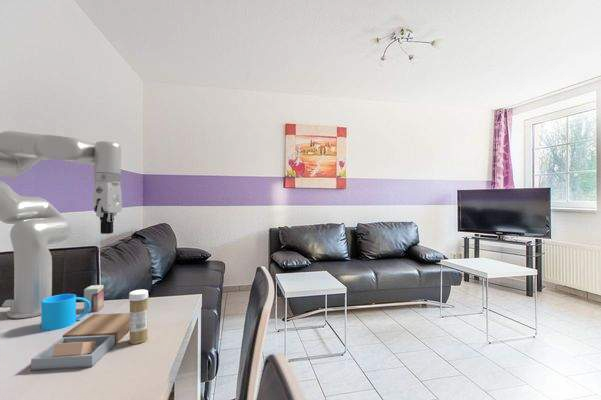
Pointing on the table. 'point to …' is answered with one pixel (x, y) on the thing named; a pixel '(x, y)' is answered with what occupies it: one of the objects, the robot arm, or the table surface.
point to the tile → (73, 348)
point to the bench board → (103, 326)
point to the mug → (60, 311)
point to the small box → (94, 297)
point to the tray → (73, 361)
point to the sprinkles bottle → (138, 316)
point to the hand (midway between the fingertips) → (106, 233)
